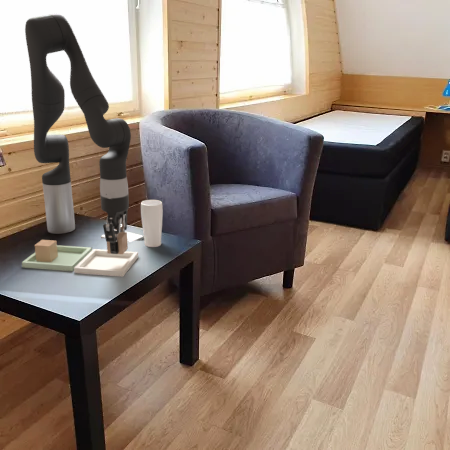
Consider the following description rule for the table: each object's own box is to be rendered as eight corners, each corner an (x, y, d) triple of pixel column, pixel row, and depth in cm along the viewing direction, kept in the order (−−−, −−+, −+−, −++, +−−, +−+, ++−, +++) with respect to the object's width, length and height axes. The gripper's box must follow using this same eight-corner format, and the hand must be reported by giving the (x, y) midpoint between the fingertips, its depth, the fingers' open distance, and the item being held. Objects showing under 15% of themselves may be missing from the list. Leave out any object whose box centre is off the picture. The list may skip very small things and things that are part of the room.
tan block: (112, 247, 139) (111, 231, 137) (127, 248, 138) (126, 232, 137) (107, 253, 134) (106, 236, 133) (122, 254, 134) (121, 238, 132)
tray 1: (46, 251, 148) (45, 244, 147) (92, 255, 146) (91, 247, 146) (22, 270, 135) (21, 262, 134) (72, 274, 133) (72, 266, 132)
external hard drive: (128, 247, 154) (100, 239, 160) (145, 240, 161) (117, 232, 167) (128, 243, 154) (100, 235, 160) (144, 235, 161) (117, 228, 166)
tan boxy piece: (43, 255, 143) (42, 239, 141) (58, 256, 143) (56, 240, 141) (36, 261, 139) (34, 245, 137) (50, 262, 138) (49, 246, 137)
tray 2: (94, 256, 145) (93, 249, 144) (138, 259, 144) (138, 252, 143) (74, 276, 132) (74, 267, 131) (123, 279, 131) (122, 271, 130)
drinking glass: (159, 251, 150) (158, 206, 145) (139, 249, 151) (137, 204, 146) (166, 243, 156) (165, 200, 151) (146, 242, 158) (144, 198, 153)
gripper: (110, 185, 137) (113, 239, 143) (91, 199, 124) (95, 259, 130) (135, 186, 137) (137, 241, 143) (119, 201, 123) (122, 261, 129)
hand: (117, 249), depth 136 cm, fingers closed on tan block, 4 cm apart
